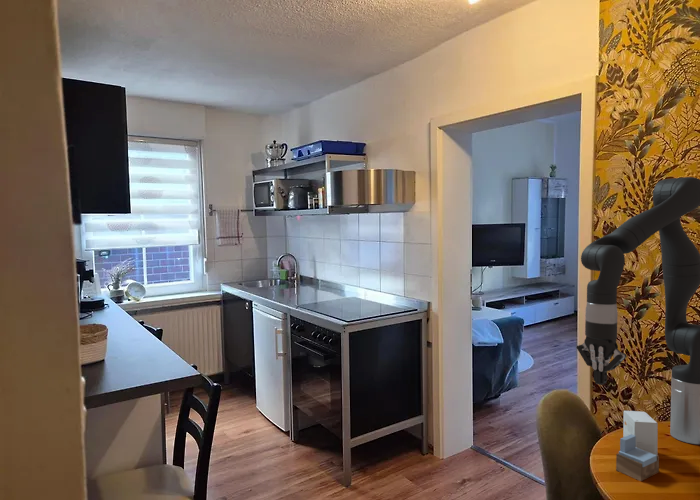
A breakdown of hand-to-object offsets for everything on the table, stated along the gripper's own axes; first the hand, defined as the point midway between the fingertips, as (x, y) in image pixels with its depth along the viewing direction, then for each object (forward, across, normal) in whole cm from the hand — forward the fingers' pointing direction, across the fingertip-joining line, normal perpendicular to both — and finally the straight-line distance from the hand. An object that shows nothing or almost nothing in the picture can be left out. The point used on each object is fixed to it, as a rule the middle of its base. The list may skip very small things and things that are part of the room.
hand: (600, 383), depth 125 cm
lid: (+16, -10, 0) cm, 19 cm away
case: (+19, -10, 0) cm, 22 cm away
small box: (+20, -6, -10) cm, 23 cm away
